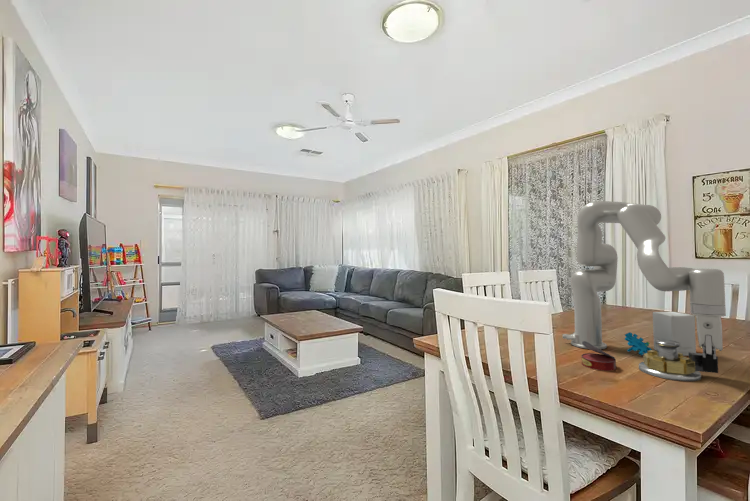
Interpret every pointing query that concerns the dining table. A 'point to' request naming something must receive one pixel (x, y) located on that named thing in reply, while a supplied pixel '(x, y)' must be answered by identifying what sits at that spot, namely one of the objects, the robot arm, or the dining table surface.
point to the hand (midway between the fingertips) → (710, 371)
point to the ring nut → (675, 363)
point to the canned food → (598, 359)
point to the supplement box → (675, 330)
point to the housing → (671, 354)
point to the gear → (637, 343)
